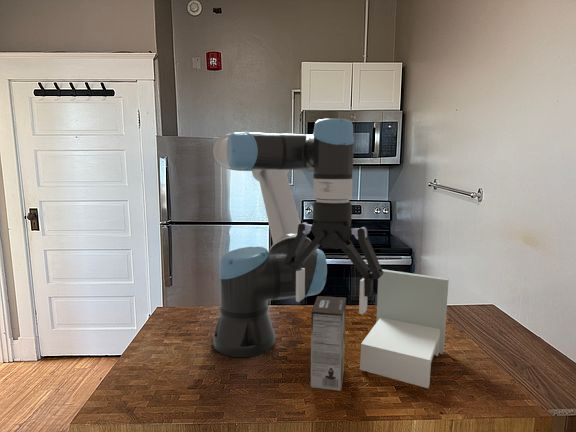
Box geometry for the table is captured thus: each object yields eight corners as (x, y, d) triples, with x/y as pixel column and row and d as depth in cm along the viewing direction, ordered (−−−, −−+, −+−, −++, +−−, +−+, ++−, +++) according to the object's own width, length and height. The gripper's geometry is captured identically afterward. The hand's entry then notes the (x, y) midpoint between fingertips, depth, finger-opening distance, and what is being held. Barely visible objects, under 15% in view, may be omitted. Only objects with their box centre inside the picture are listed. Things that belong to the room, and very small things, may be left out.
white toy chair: (355, 368, 81) (358, 288, 79) (377, 336, 96) (380, 269, 94) (433, 389, 74) (439, 302, 71) (443, 351, 89) (448, 278, 86)
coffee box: (315, 364, 83) (316, 294, 81) (344, 367, 82) (346, 297, 80) (309, 388, 74) (310, 310, 72) (342, 392, 73) (344, 313, 71)
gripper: (267, 199, 75) (268, 300, 78) (392, 205, 64) (387, 324, 66) (285, 196, 82) (285, 290, 85) (401, 202, 70) (397, 310, 73)
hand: (330, 305), depth 75 cm, fingers open, 13 cm apart
